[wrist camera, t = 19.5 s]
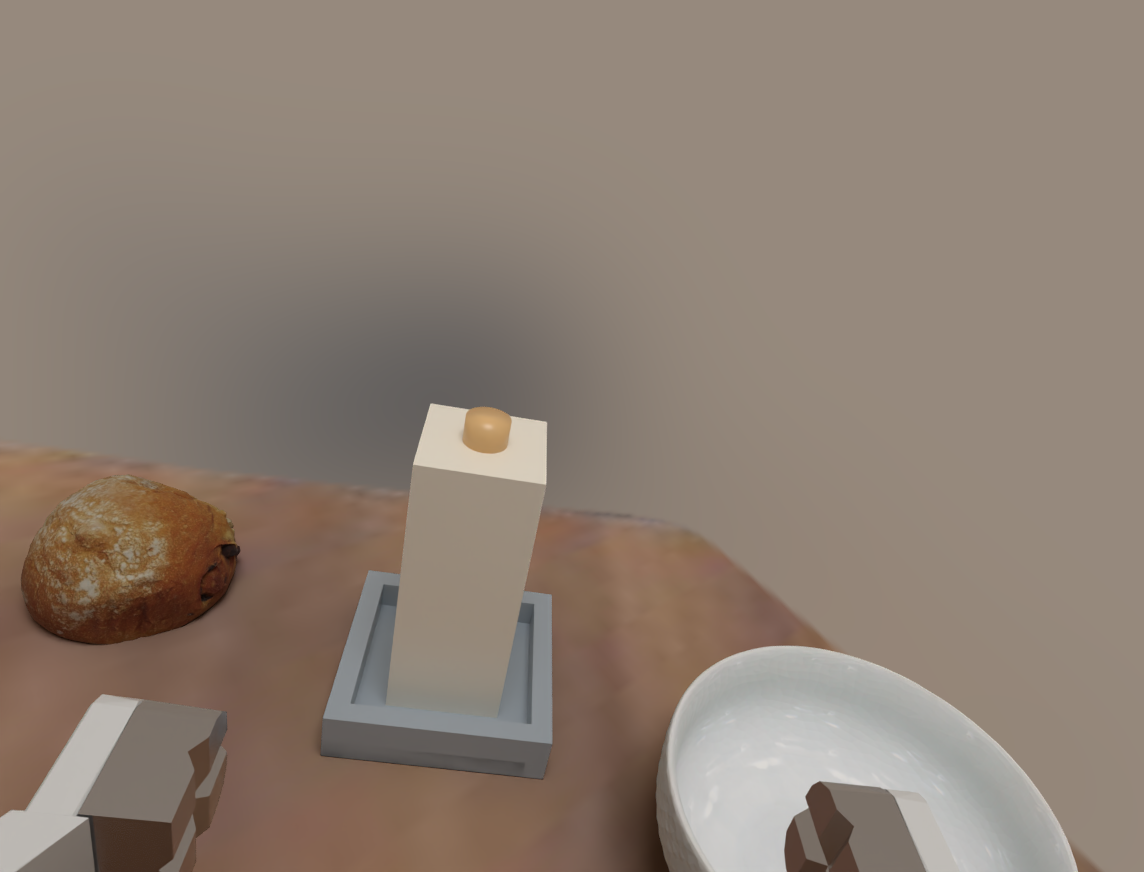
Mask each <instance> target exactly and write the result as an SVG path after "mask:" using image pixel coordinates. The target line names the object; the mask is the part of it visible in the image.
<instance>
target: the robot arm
mask: <svg viewBox="0 0 1144 872" xmlns="http://www.w3.org/2000/svg"><path fill="white" fill-rule="evenodd" d="M226 731H227V712H224V711H218V710H211V709H204V708H198V707H191V706H184V705H177V704H170V703H164V702H157V701H150V700H143V699H135V698H127V697H120V696H112V695H104V694H102V695H101V696H100V697H99V698H98V699H97V700H96V701H94V702H93V703H92V704H91V705H90V707H89V708H88V710H87V712H86V713H85V715H84V716H83V718H82V720H81V721H80V723H79V724H78V726H77V728H76V729H75V731H74V732H73V734H72V736H71V737H70V739H69V741H68V742H67V744H66V745H65V747H64V749H63V750H62V752H61V753H60V755H59V757H58V758H57V760H56V761H55V763H54V765H53V766H52V768H51V770H50V771H49V773H48V774H47V776H46V778H45V779H44V781H43V782H42V784H41V786H40V787H39V789H38V790H37V792H36V794H35V795H34V797H33V799H32V800H31V802H30V803H29V805H28V807H27V808H26V810H25V811H23V810H10V811H9V812H7V813H6V814H4V815H3V816H1V817H0V872H192V871H193V868H194V866H195V863H196V838H197V837H198V836H199V835H201V834H202V833H203V832H204V831H206V830H207V829H208V828H209V827H210V824H211V822H212V819H213V816H214V814H215V811H216V808H217V805H218V802H219V798H220V795H221V791H222V787H223V784H224V778H225V772H226V765H227V752H226V751H225V750H224V749H223V747H222V746H221V743H222V741H223V738H224V736H225V733H226ZM805 798H806V801H807V804H808V807H809V808H808V809H806V810H804V811H802V812H800V813H799V814H797V815H795V816H794V817H793V819H792V821H791V823H790V825H789V827H788V829H787V831H786V838H785V847H784V855H785V865H786V870H787V872H960V871H959V868H958V866H957V864H956V862H955V860H954V858H953V856H952V854H951V852H950V849H949V847H948V845H947V843H946V841H945V839H944V837H943V835H942V833H941V831H940V828H939V826H938V824H937V822H936V820H935V818H934V816H933V814H932V812H931V810H930V807H929V805H928V803H927V802H926V800H925V799H924V798H923V797H922V796H921V795H920V794H919V793H915V792H908V791H899V790H890V789H882V788H880V787H871V786H862V785H852V784H843V783H833V782H823V781H819V782H817V783H815V784H813V785H812V786H811V788H810V789H809V791H808V793H807V794H806V796H805Z"/></svg>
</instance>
